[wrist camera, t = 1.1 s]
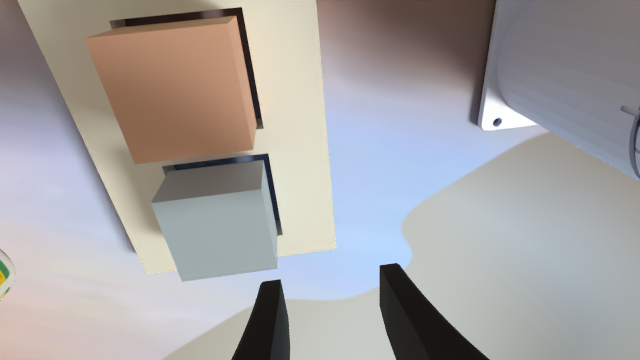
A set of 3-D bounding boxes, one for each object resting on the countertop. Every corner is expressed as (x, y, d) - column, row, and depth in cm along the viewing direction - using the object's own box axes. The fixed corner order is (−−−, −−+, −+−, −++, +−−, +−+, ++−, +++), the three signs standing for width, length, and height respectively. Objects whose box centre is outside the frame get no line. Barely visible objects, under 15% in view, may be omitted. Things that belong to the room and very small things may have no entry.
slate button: (263, 159, 19) (261, 189, 16) (277, 232, 21) (277, 268, 18) (168, 171, 18) (150, 203, 16) (194, 243, 21) (182, 281, 18)
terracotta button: (236, 15, 15) (227, 23, 12) (256, 124, 18) (253, 149, 15) (117, 27, 15) (83, 38, 12) (156, 136, 17) (134, 164, 15)
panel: (288, -286, 12) (290, -321, 11) (332, 233, 24) (336, 248, 22) (-74, -262, 11) (-123, -296, 10) (154, 257, 23) (146, 274, 22)
